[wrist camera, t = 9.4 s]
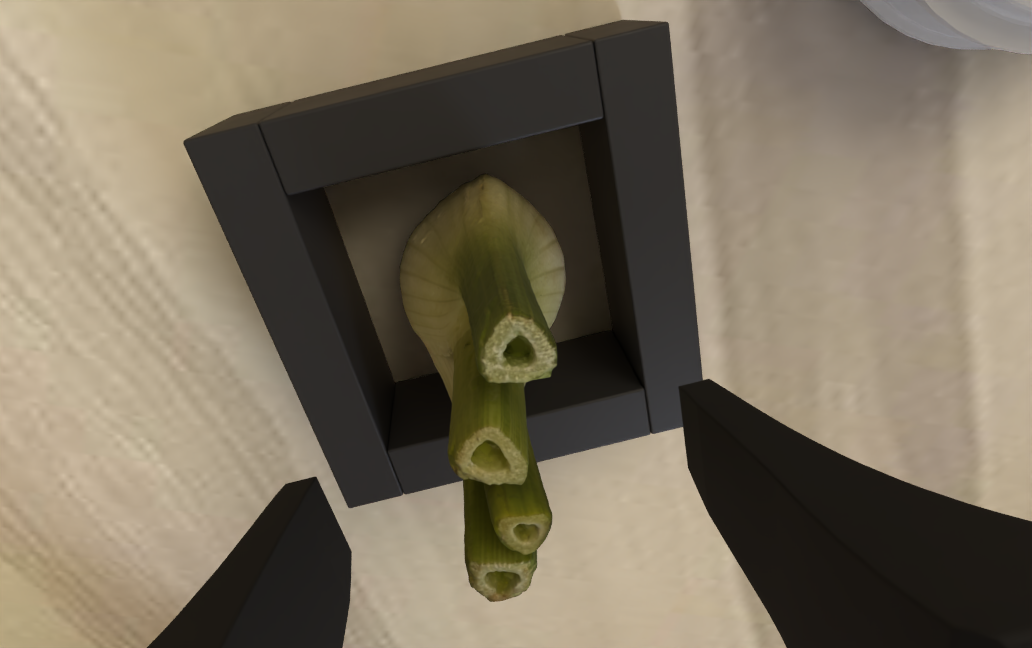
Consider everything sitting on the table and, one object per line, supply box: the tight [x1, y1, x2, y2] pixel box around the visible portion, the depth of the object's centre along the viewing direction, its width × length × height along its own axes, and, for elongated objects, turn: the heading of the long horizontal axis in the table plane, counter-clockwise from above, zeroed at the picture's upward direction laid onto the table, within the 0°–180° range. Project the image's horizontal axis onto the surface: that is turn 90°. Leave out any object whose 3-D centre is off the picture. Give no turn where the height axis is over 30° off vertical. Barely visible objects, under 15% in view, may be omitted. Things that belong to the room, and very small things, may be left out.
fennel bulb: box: [400, 174, 566, 602], centre depth 15 cm, size 6×5×12 cm
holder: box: [184, 20, 703, 508], centre depth 19 cm, size 12×12×4 cm
